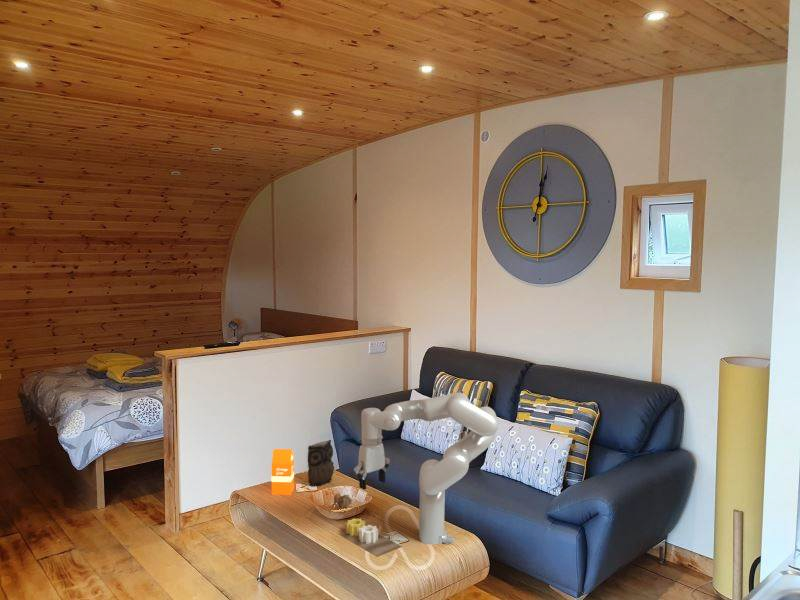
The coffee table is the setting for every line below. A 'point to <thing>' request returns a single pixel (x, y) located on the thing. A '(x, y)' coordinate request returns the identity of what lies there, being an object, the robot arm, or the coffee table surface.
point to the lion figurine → (342, 500)
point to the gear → (354, 526)
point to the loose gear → (368, 534)
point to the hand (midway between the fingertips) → (372, 485)
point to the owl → (320, 463)
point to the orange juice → (282, 472)
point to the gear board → (373, 544)
